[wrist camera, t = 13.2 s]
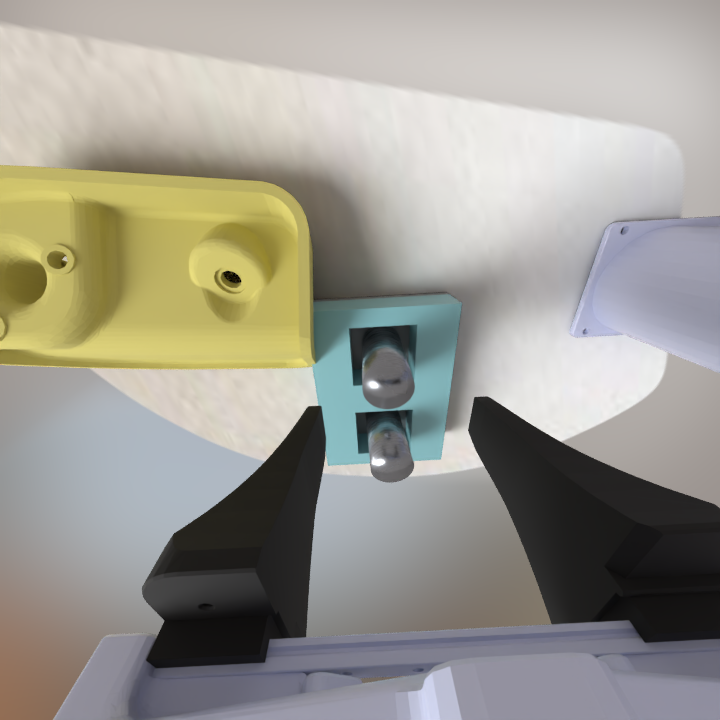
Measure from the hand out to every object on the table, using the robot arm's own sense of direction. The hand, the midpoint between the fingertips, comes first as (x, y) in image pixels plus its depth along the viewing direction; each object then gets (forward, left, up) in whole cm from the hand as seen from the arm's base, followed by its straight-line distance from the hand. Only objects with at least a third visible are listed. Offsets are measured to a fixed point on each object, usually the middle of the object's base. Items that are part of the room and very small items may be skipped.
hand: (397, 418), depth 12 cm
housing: (0, +4, -9) cm, 10 cm away
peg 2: (0, +7, -9) cm, 11 cm away
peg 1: (0, 0, -9) cm, 9 cm away
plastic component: (+14, -6, -9) cm, 17 cm away
